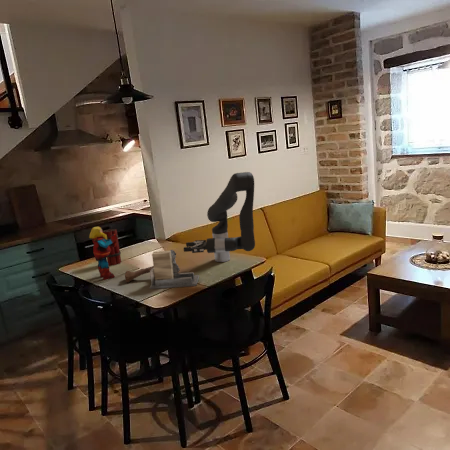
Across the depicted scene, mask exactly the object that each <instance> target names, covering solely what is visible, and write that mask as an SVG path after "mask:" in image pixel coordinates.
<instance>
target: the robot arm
mask: <svg viewBox="0 0 450 450" xmlns="http://www.w3.org/2000/svg"><path fill="white" fill-rule="evenodd" d="M238 192H239V193H240V192H245V200H244V203H243V205H242V206H241V209H240V212H239V215H238V218H239V230H240V236H236V237H229V233H228V228H229V225H228V210H230V209H232V208H233V206H235V204H236V203H237V201H238ZM254 199H255V178H254V174H253V173H252V172H250V171H245V172H236V173H233V174H232V175H231V176H230V179H229V181H228V182H227V184H226V187H225V188H224V189H223V191H222V192H221V193H220V195H219V196H218V198H216V200H215V202H214V203H213V204H212V205H211V206H210V207H209V208H208V210H207V214H206V216H207V220H208V221H209V222H212V223H217V222H218V224H216V225H215V226H214V227H212V229H211V234H212V237H211V238H208V237H207V238H206V239H199V240H198V239H197V240H195V241H190V242H186V243H185V246H184V247H183V253H186V252H191V253H192V254H198V253H205V250H206V253H208V254H212V253H213V255H214V261H215V262H218V263H222V262H223V263H225V262H228V261H230V259H231V255H230V254H231V253H230V252H234V251H237V250H243V251H244V252H252V251H253V250H254V248H255V247H256V241H255V229H254V227H255V226H254V225H255V224H254Z"/></svg>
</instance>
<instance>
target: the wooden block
mask: <svg viewBox="0 0 450 450" xmlns="http://www.w3.org/2000/svg"><path fill="white" fill-rule="evenodd" d="M151 256H152V264H153V265H152V266H154V273H155V280H156V279H170V278H174V274H173V266H172V258H171V251H170V250H162V251H153V252H152V253H151Z"/></svg>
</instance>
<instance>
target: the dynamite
mask: <svg viewBox="0 0 450 450" xmlns="http://www.w3.org/2000/svg"><path fill="white" fill-rule="evenodd" d="M106 219H107V221H109V218H106ZM107 223H108V226H110V225H109V222H107ZM117 230H118V229H117V228H113V229H112V228H111V229H110V228H108V229H105V230H102V231H103V233H104V234H106V235H107V240H108V239H109V237H110V236H111V235H113V234H116V236H117V240H116V241H115V242H114V243H116V244H117V246H116V247H112V246H109V247H110V249H111V252H110V253H109V255H108V256H107V258H106V259H107V262H108V266H117V265H119V264H121V263H122V258H121V254H122V253H121V251H120V250H121V249H120V245H119V235H118V231H117Z"/></svg>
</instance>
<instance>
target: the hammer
mask: <svg viewBox="0 0 450 450" xmlns="http://www.w3.org/2000/svg"><path fill="white" fill-rule="evenodd" d="M169 251H171V258H172V266H173V274H175V273H180V272H179V271H180V269H181V268H180V266H179V265H178V263H177V261H176V258H177V252H176V251H175V250H173V249H170V250H169ZM152 268H154V265H151V266H149V267H145V268H141V269H139V270H137V271H130V270H126V271H125V273H124V278H125V279H124V280H125V282H126V283H130V282H131V281H133V280H134V279H136V278H138V277H140V276H143V275H145V274H150V270H151V269H152Z"/></svg>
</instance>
